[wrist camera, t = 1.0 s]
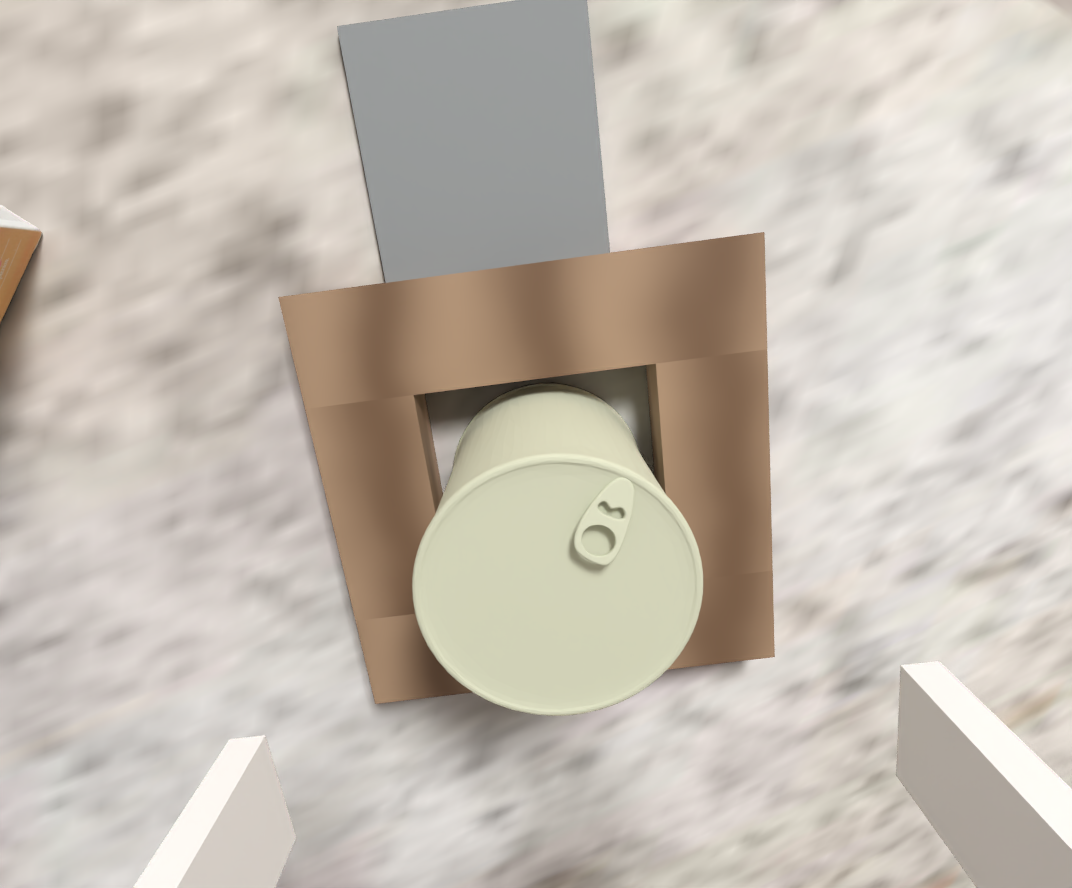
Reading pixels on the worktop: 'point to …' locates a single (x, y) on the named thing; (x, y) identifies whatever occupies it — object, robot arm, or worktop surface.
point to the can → (555, 559)
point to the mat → (479, 136)
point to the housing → (533, 353)
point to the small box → (14, 253)
